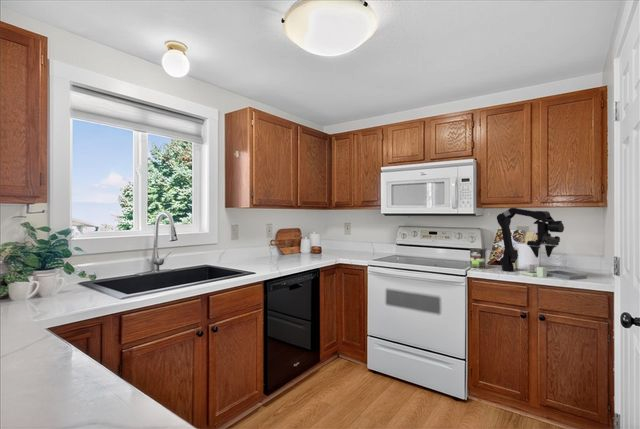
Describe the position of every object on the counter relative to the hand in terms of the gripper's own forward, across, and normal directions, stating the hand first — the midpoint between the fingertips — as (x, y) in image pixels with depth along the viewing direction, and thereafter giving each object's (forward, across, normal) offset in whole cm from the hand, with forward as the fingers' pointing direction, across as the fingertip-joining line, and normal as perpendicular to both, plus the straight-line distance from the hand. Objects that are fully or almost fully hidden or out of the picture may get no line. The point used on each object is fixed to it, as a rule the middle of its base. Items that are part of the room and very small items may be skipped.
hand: (542, 257), depth 199 cm
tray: (+13, +13, -3) cm, 18 cm away
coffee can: (+13, -12, +40) cm, 44 cm away
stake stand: (+13, 0, +7) cm, 15 cm away
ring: (+12, 0, +5) cm, 13 cm away
